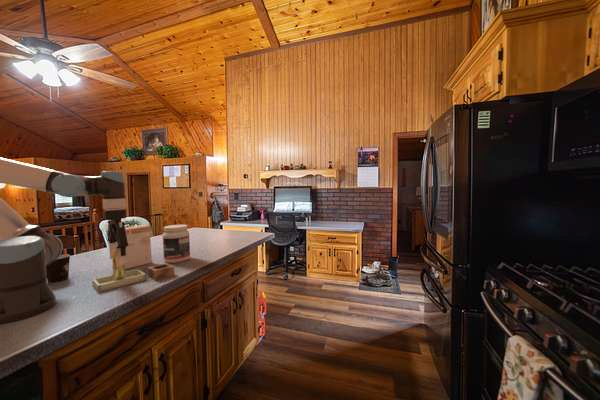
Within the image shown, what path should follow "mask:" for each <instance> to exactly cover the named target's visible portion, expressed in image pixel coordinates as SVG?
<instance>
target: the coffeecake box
mask: <svg viewBox="0 0 600 400" xmlns="http://www.w3.org/2000/svg"><path fill="white" fill-rule="evenodd" d="M150 228H151V227H150V225H146V224H142V225H135V226H134V225H133V226H127V227H125V231H126V237H127V242H128V246H127V247H126V248H127V263H125V270H127V269H131V268H135V267H138V266H143V265H148V264H151V263H153V256H152V245H151V244H152V243H151V230H150ZM115 243H116V242H115ZM117 246H118V243H117Z"/></svg>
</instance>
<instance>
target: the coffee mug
mask: <svg viewBox="0 0 600 400" xmlns="http://www.w3.org/2000/svg"><path fill="white" fill-rule="evenodd" d="M70 257H71V254H60V256H59V257H58V258H57V259H56V260H55V261H54V262H52V263H51V264H49V265H47V266H46V277H47V283H48V284H54V283H55V284H56V283H59V282H63V281H66V280H68V279H69V274H70V273H69V271H70V262H71V261H70V260H71V259H70Z"/></svg>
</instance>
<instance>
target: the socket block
mask: <svg viewBox="0 0 600 400" xmlns="http://www.w3.org/2000/svg"><path fill="white" fill-rule="evenodd" d="M172 276H175V266H174V265H173V264H171V263H168V262H164V263H160V264H156V265H153V266H152V265H151V266H148V267H147V277H148V278H150V279H151V280H154V281H158V280H161V279H165V278H170V277H172Z"/></svg>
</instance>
